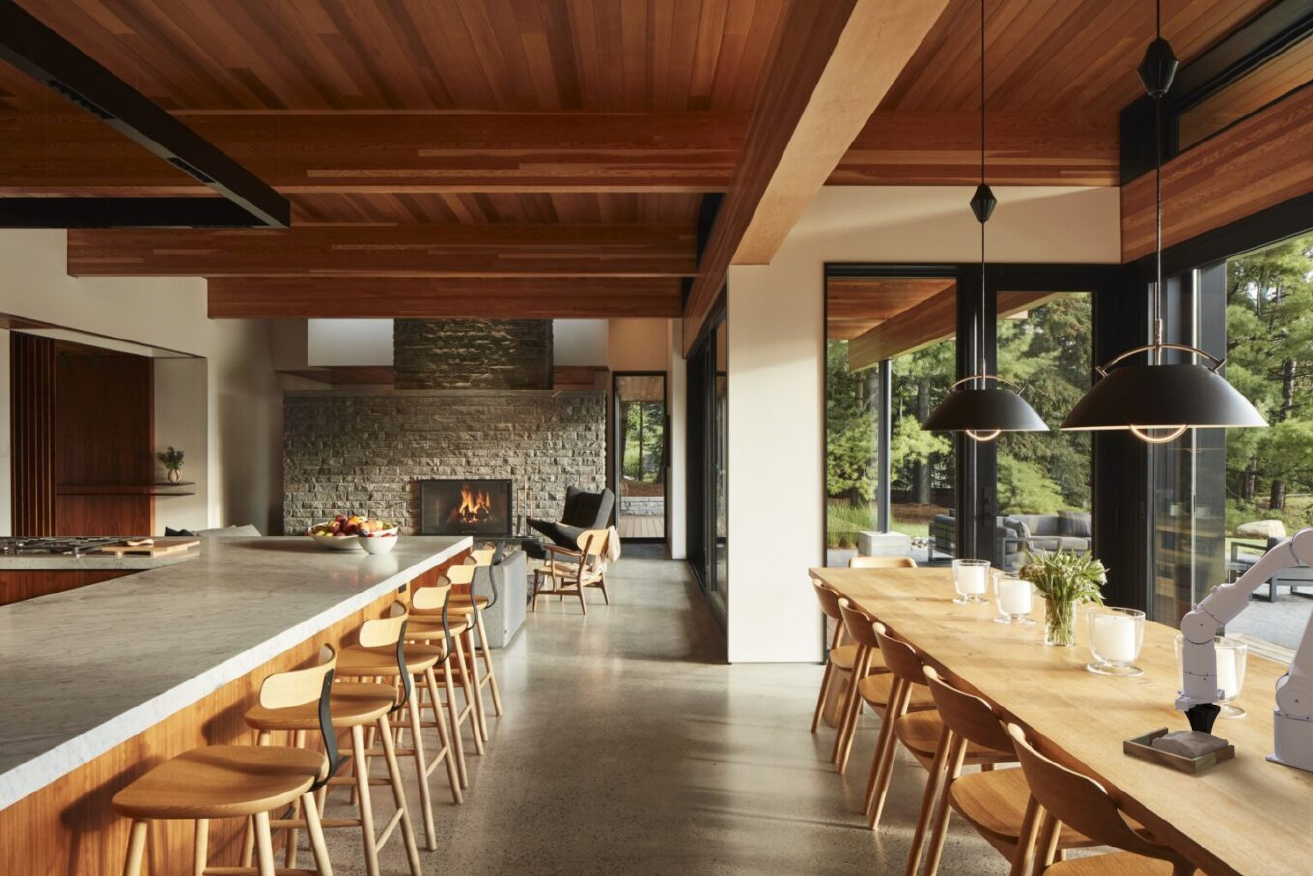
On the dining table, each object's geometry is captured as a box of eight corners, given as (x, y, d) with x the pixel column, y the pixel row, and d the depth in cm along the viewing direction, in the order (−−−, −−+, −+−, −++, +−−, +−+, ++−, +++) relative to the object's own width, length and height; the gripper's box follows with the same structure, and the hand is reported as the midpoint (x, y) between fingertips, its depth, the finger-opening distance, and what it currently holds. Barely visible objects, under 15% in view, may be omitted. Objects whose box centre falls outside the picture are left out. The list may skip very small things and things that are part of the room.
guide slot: (1234, 757, 158) (1234, 745, 158) (1192, 773, 151) (1192, 761, 151) (1165, 738, 169) (1165, 727, 170) (1123, 752, 162) (1122, 741, 162)
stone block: (1149, 763, 161) (1203, 768, 153) (1143, 737, 162) (1197, 741, 154) (1182, 753, 167) (1235, 758, 159) (1176, 728, 168) (1230, 731, 160)
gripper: (1197, 663, 172) (1199, 728, 172) (1158, 673, 165) (1160, 741, 164) (1235, 670, 166) (1237, 738, 166) (1196, 681, 159) (1198, 752, 158)
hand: (1201, 741), depth 165 cm, fingers closed
